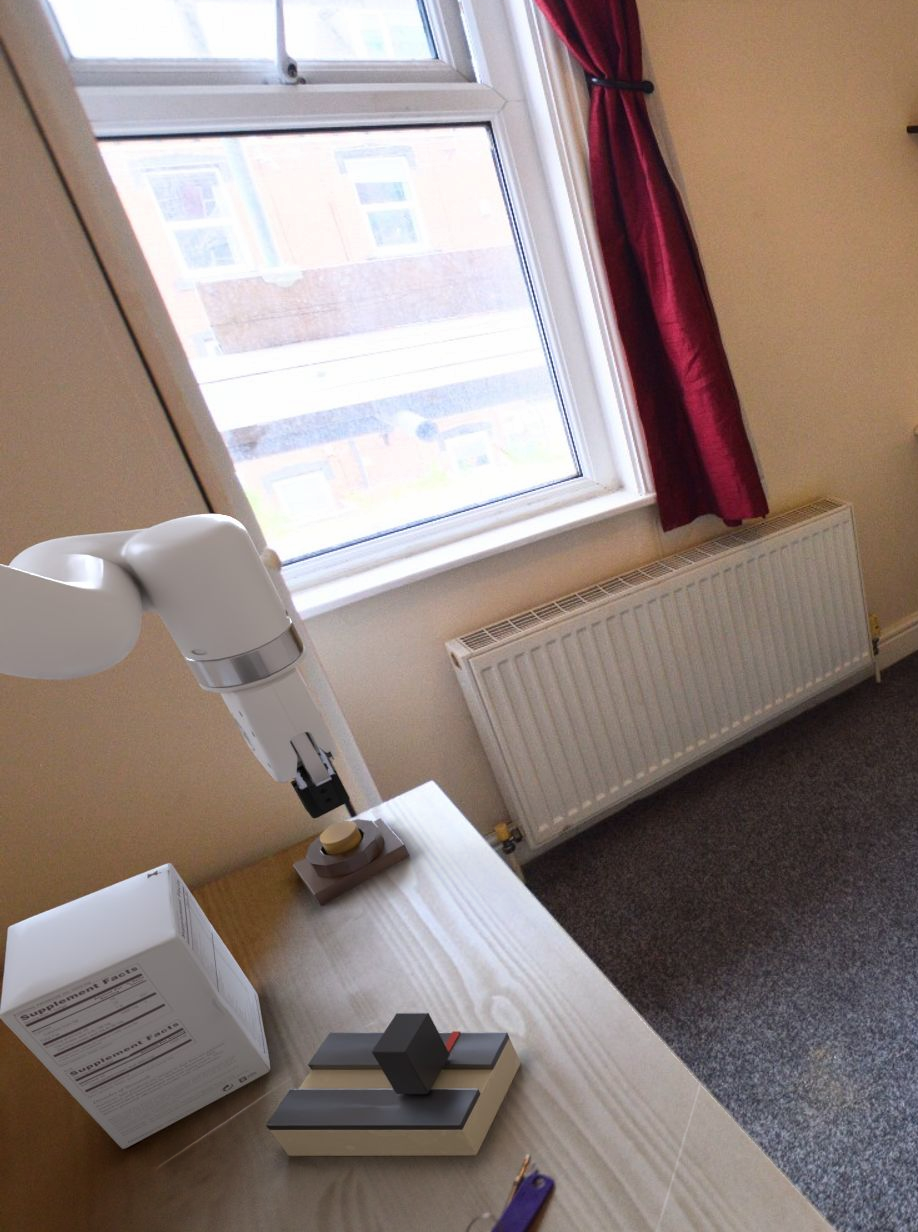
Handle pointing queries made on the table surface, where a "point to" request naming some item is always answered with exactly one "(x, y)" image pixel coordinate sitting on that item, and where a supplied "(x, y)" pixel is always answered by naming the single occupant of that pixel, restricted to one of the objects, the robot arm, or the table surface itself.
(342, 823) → the button
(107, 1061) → the supplement box
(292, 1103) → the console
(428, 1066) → the slider
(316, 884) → the button block
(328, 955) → the table surface
